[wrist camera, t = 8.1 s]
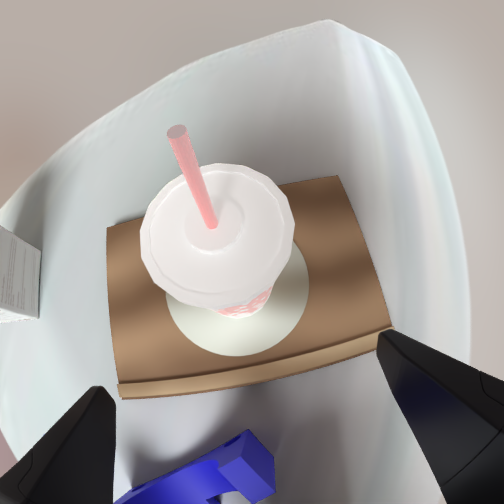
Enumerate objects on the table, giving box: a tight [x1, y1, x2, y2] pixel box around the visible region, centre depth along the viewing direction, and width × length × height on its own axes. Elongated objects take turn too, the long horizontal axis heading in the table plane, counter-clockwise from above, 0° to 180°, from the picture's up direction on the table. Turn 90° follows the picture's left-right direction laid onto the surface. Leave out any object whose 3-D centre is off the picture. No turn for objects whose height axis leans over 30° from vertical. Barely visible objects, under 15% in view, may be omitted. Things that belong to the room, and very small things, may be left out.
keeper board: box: [106, 175, 395, 400], centre depth 20 cm, size 14×20×2 cm
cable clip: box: [113, 429, 276, 504], centre depth 12 cm, size 12×4×6 cm, turn 127°
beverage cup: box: [140, 125, 295, 319], centre depth 12 cm, size 6×6×14 cm
